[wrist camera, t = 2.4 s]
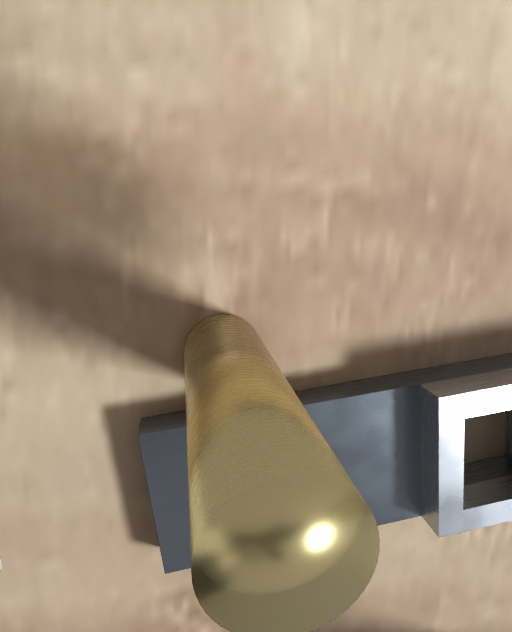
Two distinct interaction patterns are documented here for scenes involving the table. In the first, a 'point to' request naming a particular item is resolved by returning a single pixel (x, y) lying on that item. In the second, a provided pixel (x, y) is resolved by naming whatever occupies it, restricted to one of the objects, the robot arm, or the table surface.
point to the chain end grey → (460, 453)
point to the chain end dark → (343, 438)
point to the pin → (266, 493)
